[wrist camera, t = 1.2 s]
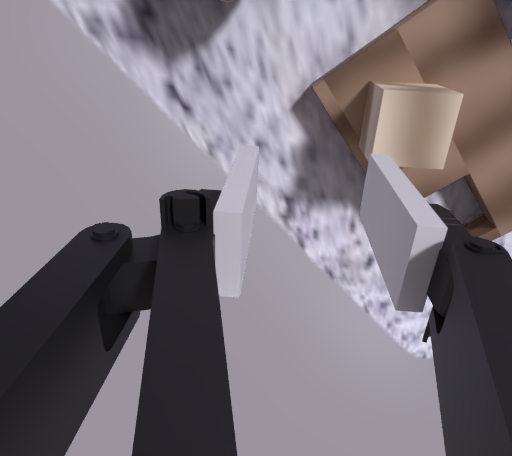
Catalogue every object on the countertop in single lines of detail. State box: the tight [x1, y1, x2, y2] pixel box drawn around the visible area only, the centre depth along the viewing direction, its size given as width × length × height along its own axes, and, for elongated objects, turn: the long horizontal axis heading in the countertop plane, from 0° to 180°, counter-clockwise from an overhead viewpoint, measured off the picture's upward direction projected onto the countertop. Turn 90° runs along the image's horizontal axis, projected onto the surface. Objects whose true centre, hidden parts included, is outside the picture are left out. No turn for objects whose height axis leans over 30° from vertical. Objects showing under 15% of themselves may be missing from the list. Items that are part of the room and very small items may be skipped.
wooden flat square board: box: [311, 0, 512, 241], centre depth 31 cm, size 20×20×2 cm
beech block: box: [359, 81, 464, 169], centre depth 28 cm, size 5×5×5 cm
